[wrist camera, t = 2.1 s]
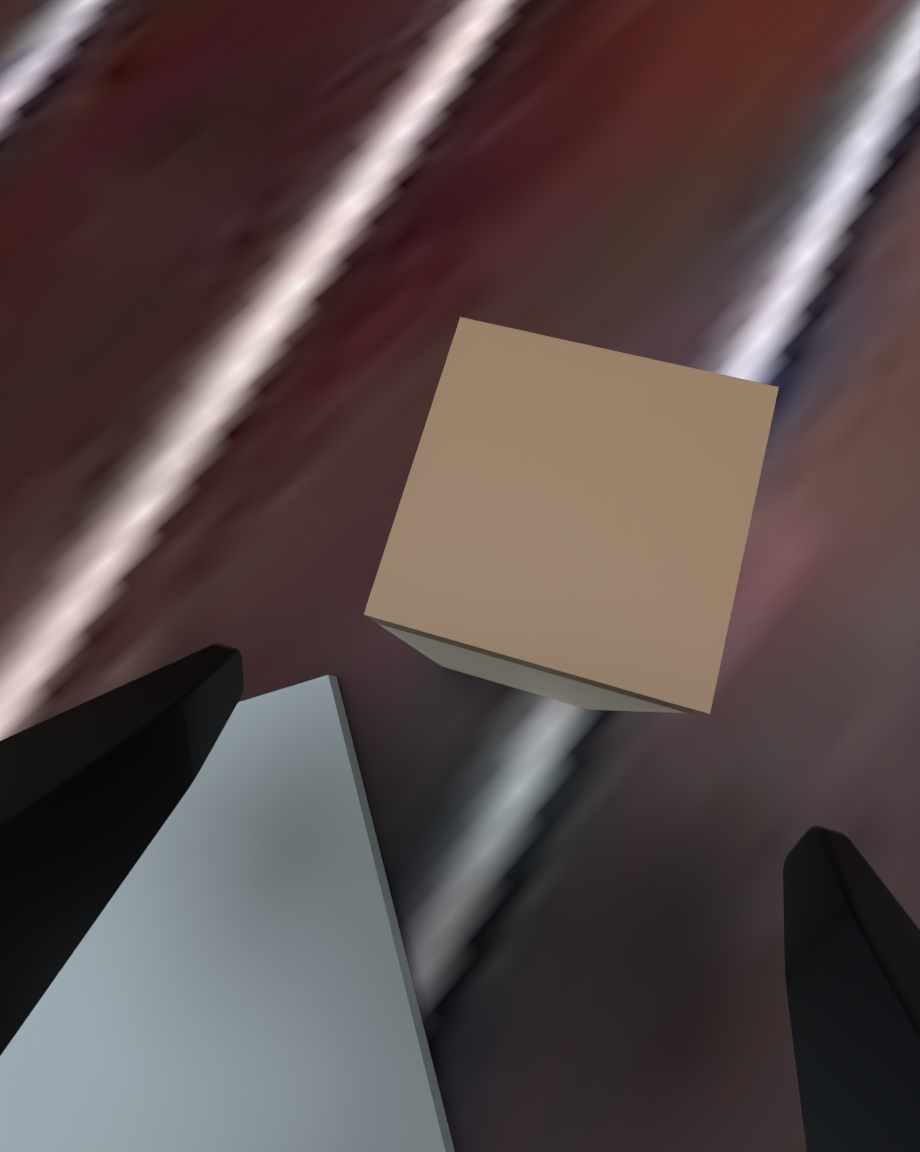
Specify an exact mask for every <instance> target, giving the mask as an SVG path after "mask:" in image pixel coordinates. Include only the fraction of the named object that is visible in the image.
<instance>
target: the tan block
mask: <svg viewBox="0 0 920 1152" xmlns="http://www.w3.org/2000/svg"><path fill="white" fill-rule="evenodd" d="M778 388H779V387H776V386H771V385H767V384H762V383H757V382H753V381H748V380H744V379H739V378H735V377H730V376H726V375H721V374H717V373H712V372H707V371H703V370H698V369H694V368H689V367H685V366H680V365H676V364H671V363H667V362H662V361H657V360H653V359H648V358H644V357H639V356H635V355H630V354H626V353H621V352H617V351H612V350H607V349H603V348H598V347H594V346H589V345H585V344H580V343H576V342H571V341H567V340H562V339H557V338H553V337H548V336H544V335H539V334H535V333H530V332H526V331H521V330H517V329H512V328H507V327H503V326H498V325H494V324H489V323H485V322H480V321H476V320H471V319H467V318H462V317H460V320H459V323H458V326H457V329H456V332H455V335H454V338H453V341H452V344H451V348H450V351H449V354H448V357H447V360H446V363H445V366H444V369H443V372H442V375H441V378H440V381H439V384H438V388H437V391H436V394H435V397H434V400H433V403H432V406H431V409H430V412H429V415H428V418H427V421H426V425H425V428H424V431H423V434H422V437H421V440H420V443H419V446H418V449H417V452H416V455H415V458H414V461H413V465H412V468H411V471H410V474H409V477H408V480H407V483H406V486H405V489H404V492H403V495H402V498H401V501H400V505H399V508H398V511H397V514H396V517H395V520H394V523H393V526H392V529H391V532H390V535H389V538H388V542H387V545H386V548H385V551H384V554H383V557H382V560H381V563H380V566H379V569H378V572H377V575H376V578H375V582H374V585H373V588H372V591H371V594H370V597H369V600H368V603H367V606H366V609H365V612H364V615H365V616H367V617H368V618H370V619H371V620H373V621H374V622H376V623H377V624H379V625H380V626H382V627H383V628H385V629H386V630H388V631H389V632H391V633H392V634H394V635H395V636H397V637H398V638H400V639H401V640H403V641H404V642H406V643H407V644H409V645H410V646H412V647H413V648H415V649H416V650H418V651H419V652H421V653H422V654H424V655H425V656H427V657H428V658H430V659H431V660H433V661H435V662H436V663H438V664H439V665H441V666H442V667H445V668H448V669H452V670H455V671H459V672H462V673H465V674H469V675H472V676H476V677H479V678H482V679H486V680H489V681H493V682H496V683H499V684H503V685H506V686H510V687H513V688H517V689H520V690H523V691H527V692H530V693H534V694H537V695H540V696H544V697H547V698H551V699H554V700H557V701H561V702H564V703H568V704H571V705H574V706H578V707H581V708H585V709H588V710H614V711H641V712H668V713H695V714H710V711H711V706H712V702H713V697H714V692H715V687H716V683H717V678H718V673H719V668H720V664H721V659H722V654H723V649H724V645H725V640H726V635H727V630H728V626H729V621H730V616H731V611H732V606H733V602H734V597H735V592H736V587H737V583H738V578H739V573H740V568H741V564H742V559H743V554H744V549H745V545H746V540H747V535H748V530H749V526H750V521H751V516H752V511H753V507H754V502H755V497H756V492H757V488H758V483H759V478H760V473H761V469H762V464H763V459H764V454H765V450H766V445H767V440H768V435H769V431H770V426H771V421H772V416H773V412H774V407H775V402H776V397H777V393H778Z"/></svg>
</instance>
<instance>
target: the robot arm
mask: <svg viewBox="0 0 920 1152" xmlns="http://www.w3.org/2000/svg"><path fill="white" fill-rule="evenodd" d="M242 692H243V669H242V657H241V653H240V651H239V650H237V649H236V648H232V647H229V646H226V645H223V644H218V643H216V644H212V645H209V646H207V647H205V648H203V649H200V650H198V651H196V652H194V653H192V654H189V655H187V656H185V657H183V658H181V659H179V660H176V661H174V662H172V663H170V664H168V665H165V666H163V667H161V668H159V669H157V670H155V671H152V672H150V673H148V674H146V675H144V676H141V677H139V678H137V679H135V680H133V681H131V682H128V683H126V684H124V685H122V686H120V687H117V688H115V689H113V690H111V691H109V692H107V693H104V694H102V695H100V696H98V697H96V698H93V699H91V700H89V701H87V702H85V703H83V704H80V705H78V706H76V707H74V708H72V709H69V710H67V711H65V712H63V713H61V714H59V715H56V716H54V717H52V718H50V719H48V720H45V721H43V722H41V723H39V724H37V725H35V726H32V727H30V728H28V729H26V730H24V731H21V732H19V733H17V734H15V735H13V736H11V737H8V738H6V739H4V740H2V741H0V1056H1V1055H2V1053H3V1052H4V1050H5V1049H6V1047H7V1046H8V1045H9V1043H10V1042H11V1040H12V1039H13V1038H14V1036H15V1035H16V1033H17V1032H18V1030H19V1029H20V1028H21V1026H22V1025H23V1023H24V1022H25V1020H26V1019H27V1018H28V1016H29V1015H30V1013H31V1012H32V1011H33V1009H34V1008H35V1006H36V1005H37V1003H38V1002H39V1001H40V999H41V998H42V996H43V995H44V994H45V992H46V991H47V989H48V988H49V986H50V985H51V984H52V982H53V981H54V979H55V978H56V976H57V975H58V974H59V972H60V971H61V969H62V968H63V967H64V965H65V964H66V962H67V961H68V959H69V958H70V957H71V955H72V954H73V952H74V951H75V950H76V948H77V947H78V945H79V944H80V942H81V941H82V940H83V938H84V937H85V935H86V934H87V932H88V931H89V930H90V928H91V927H92V925H93V924H94V923H95V921H96V920H97V918H98V917H99V915H100V914H101V913H102V911H103V910H104V908H105V907H106V905H107V904H108V903H109V901H110V900H111V898H112V897H113V896H114V894H115V893H116V891H117V890H118V888H119V887H120V886H121V884H122V883H123V881H124V880H125V879H126V877H127V876H128V874H129V873H130V871H131V870H132V869H133V867H134V866H135V864H136V863H137V861H138V860H139V859H140V857H141V856H142V854H143V853H144V852H145V850H146V849H147V847H148V846H149V844H150V843H151V842H152V840H153V839H154V837H155V836H156V835H157V833H158V832H159V830H160V829H161V827H162V826H163V825H164V823H165V822H166V820H167V819H168V817H169V816H170V815H171V813H172V812H173V810H174V809H175V808H176V806H177V805H178V803H179V802H180V800H181V799H182V798H183V796H184V795H185V793H186V792H187V790H188V789H189V787H190V786H191V784H192V783H193V781H194V780H195V778H196V777H197V775H198V773H199V771H200V770H201V768H202V766H203V765H204V763H205V761H206V759H207V757H208V756H209V754H210V752H211V750H212V748H213V747H214V745H215V743H216V741H217V739H218V738H219V736H220V734H221V732H222V730H223V729H224V727H225V725H226V723H227V721H228V720H229V718H230V716H231V714H232V712H233V711H234V709H235V707H236V705H237V703H238V701H239V700H240V697H241V695H242ZM783 888H784V945H785V976H786V987H787V997H788V1005H789V1012H790V1020H791V1028H792V1036H793V1044H794V1052H795V1059H796V1067H797V1075H798V1083H799V1091H800V1099H801V1107H802V1114H803V1122H804V1130H805V1138H806V1146H807V1152H920V929H919V928H918V926H917V925H916V924H915V923H914V921H913V920H912V919H911V917H910V916H909V915H908V914H907V912H906V911H905V910H904V908H903V907H902V906H901V905H900V903H899V902H898V901H897V899H896V898H895V897H894V896H893V894H892V893H891V892H890V890H889V889H888V888H887V887H886V885H885V884H884V883H883V881H882V880H881V879H880V878H879V876H878V875H877V874H876V872H875V871H874V870H873V869H872V867H871V866H870V865H869V863H868V862H867V861H866V860H865V858H864V857H863V856H862V854H861V853H860V852H859V851H858V849H857V848H856V847H855V845H854V844H853V843H852V842H851V840H850V839H849V838H848V837H847V836H846V835H844V834H842V833H840V832H837V831H834V830H831V829H827V828H824V827H821V826H813V827H811V828H809V829H808V830H807V832H806V833H805V834H804V835H803V837H802V838H801V839H800V840H799V841H798V843H797V844H796V845H795V846H794V847H793V849H792V850H791V851H790V852H789V854H788V855H787V857H786V859H785V862H784V868H783Z"/></svg>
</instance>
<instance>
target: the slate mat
mask: <svg viewBox="0 0 920 1152" xmlns="http://www.w3.org/2000/svg"><path fill="white" fill-rule="evenodd" d="M0 1152H455V1150H454V1146H453V1142H452V1138H451V1134H450V1130H449V1126H448V1122H447V1118H446V1114H445V1110H444V1106H443V1102H442V1098H441V1094H440V1090H439V1086H438V1082H437V1078H436V1074H435V1070H434V1066H433V1062H432V1058H431V1054H430V1050H429V1046H428V1042H427V1038H426V1034H425V1030H424V1026H423V1022H422V1018H421V1014H420V1010H419V1006H418V1002H417V998H416V994H415V990H414V986H413V982H412V978H411V974H410V970H409V966H408V962H407V958H406V954H405V950H404V946H403V942H402V938H401V934H400V930H399V926H398V922H397V918H396V914H395V910H394V906H393V902H392V898H391V894H390V889H389V885H388V881H387V877H386V873H385V869H384V865H383V861H382V857H381V853H380V849H379V845H378V841H377V837H376V833H375V829H374V825H373V821H372V817H371V813H370V809H369V805H368V801H367V797H366V793H365V789H364V785H363V781H362V777H361V773H360V769H359V765H358V761H357V757H356V753H355V749H354V745H353V741H352V737H351V733H350V729H349V725H348V721H347V717H346V713H345V709H344V705H343V701H342V697H341V693H340V689H339V685H338V681H337V677H336V676H332V675H326V676H323V677H319V678H316V679H313V680H310V681H306V682H303V683H300V684H297V685H293V686H290V687H287V688H284V689H280V690H277V691H274V692H270V693H267V694H264V695H261V696H257V697H254V698H251V699H248V700H244V701H241V702H238V703H237V705H236V707H235V709H234V711H233V712H232V714H231V716H230V718H229V720H228V721H227V723H226V725H225V727H224V729H223V730H222V732H221V734H220V736H219V738H218V739H217V741H216V743H215V745H214V747H213V748H212V750H211V752H210V754H209V756H208V757H207V759H206V761H205V763H204V765H203V766H202V768H201V770H200V771H199V773H198V775H197V777H196V778H195V780H194V781H193V783H192V784H191V786H190V787H189V789H188V790H187V792H186V793H185V795H184V796H183V798H182V799H181V800H180V802H179V803H178V805H177V806H176V808H175V809H174V810H173V812H172V813H171V815H170V816H169V817H168V819H167V820H166V822H165V823H164V825H163V826H162V827H161V829H160V830H159V832H158V833H157V835H156V836H155V837H154V839H153V840H152V842H151V843H150V844H149V846H148V847H147V849H146V850H145V852H144V853H143V854H142V856H141V857H140V859H139V860H138V861H137V863H136V864H135V866H134V867H133V869H132V870H131V871H130V873H129V874H128V876H127V877H126V879H125V880H124V881H123V883H122V884H121V886H120V887H119V888H118V890H117V891H116V893H115V894H114V896H113V897H112V898H111V900H110V901H109V903H108V904H107V905H106V907H105V908H104V910H103V911H102V913H101V914H100V915H99V917H98V918H97V920H96V921H95V923H94V924H93V925H92V927H91V928H90V930H89V931H88V932H87V934H86V935H85V937H84V938H83V940H82V941H81V942H80V944H79V945H78V947H77V948H76V950H75V951H74V952H73V954H72V955H71V957H70V958H69V959H68V961H67V962H66V964H65V965H64V967H63V968H62V969H61V971H60V972H59V974H58V975H57V976H56V978H55V979H54V981H53V982H52V984H51V985H50V986H49V988H48V989H47V991H46V992H45V994H44V995H43V996H42V998H41V999H40V1001H39V1002H38V1003H37V1005H36V1006H35V1008H34V1009H33V1011H32V1012H31V1013H30V1015H29V1016H28V1018H27V1019H26V1020H25V1022H24V1023H23V1025H22V1026H21V1028H20V1029H19V1030H18V1032H17V1033H16V1035H15V1036H14V1038H13V1039H12V1040H11V1042H10V1043H9V1045H8V1046H7V1047H6V1049H5V1050H4V1052H3V1053H2V1055H1V1056H0Z"/></svg>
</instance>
